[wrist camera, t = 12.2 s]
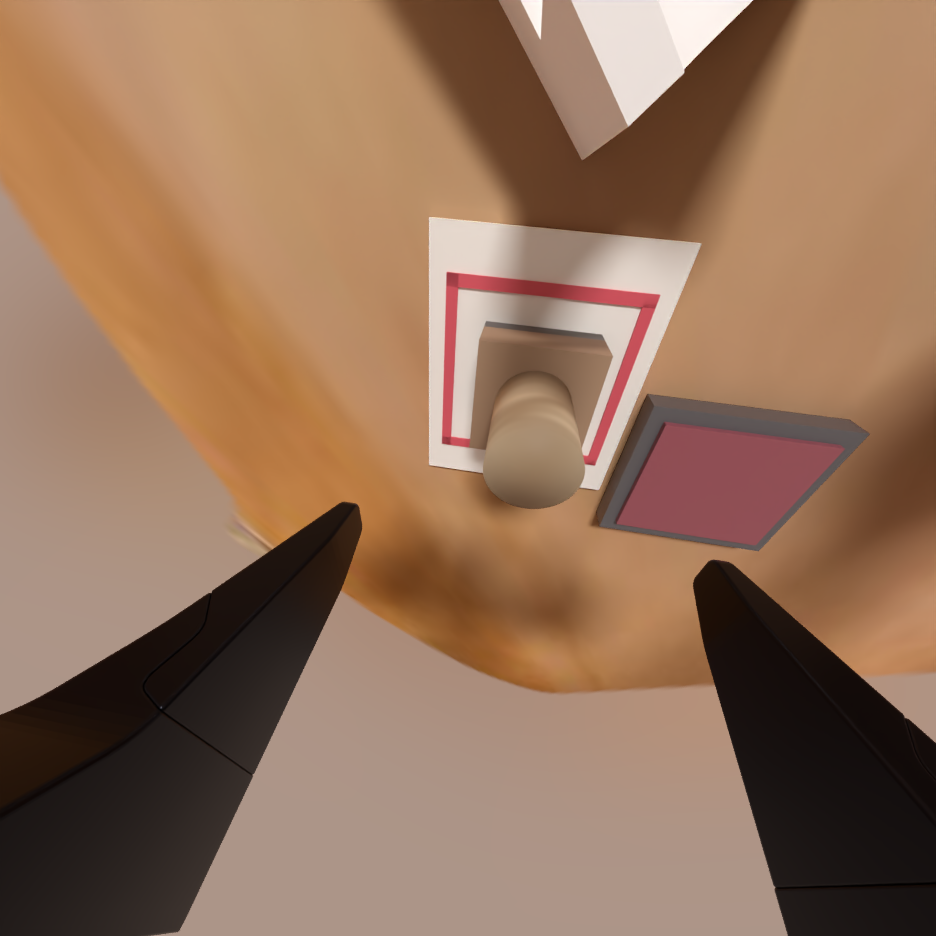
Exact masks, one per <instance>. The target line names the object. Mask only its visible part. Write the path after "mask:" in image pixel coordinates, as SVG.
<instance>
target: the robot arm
mask: <svg viewBox="0 0 936 936" xmlns="http://www.w3.org/2000/svg"><path fill="white" fill-rule="evenodd" d="M361 531H362V521H361V515H360V510H359V506H358V505H357V504H355V503H349V502H341V503H339V504H338V505H336V506H335V507H333V508H332V509H331V510H329V511H328V512H326V513H325V514H323V515H322V516H320V517H319V518H317V519H316V520H315V521H313V522H312V523H310V524H309V525H307V526H306V527H304V528H303V529H301V530H300V531H298V532H297V533H296V534H294V535H293V536H291V537H290V538H288V539H287V540H285V541H284V542H282V543H281V544H280V545H278V546H277V547H275V548H274V549H272V550H271V551H269V552H268V553H266V554H265V555H263V556H262V557H261V558H259V559H258V560H256V561H255V562H253V563H252V564H250V565H249V566H248V567H246V568H245V569H243V570H242V571H240V572H239V573H237V574H236V575H234V576H233V577H231V578H230V579H229V580H227V581H226V582H224V583H223V584H221V585H220V586H218V587H217V588H215V589H214V590H213V591H212V593H208V594H206V595H205V596H203V597H202V598H201V599H199V600H198V601H196V602H195V603H193V604H192V605H190V606H189V607H187V608H186V609H184V610H183V611H181V612H180V613H178V614H177V615H175V616H174V617H172V618H171V619H169V620H168V621H166V622H165V623H163V624H161V625H160V626H158V627H157V628H155V629H153V630H152V631H150V632H148V633H147V634H145V635H143V636H142V637H140V638H139V639H137V640H135V641H134V642H132V643H131V644H129V645H127V646H125V647H124V648H122V649H120V650H119V651H117V652H115V653H114V654H112V655H110V656H108V657H107V658H105V659H103V660H102V661H100V662H98V663H97V664H95V665H93V666H92V667H90V668H88V669H87V670H85V671H83V672H82V673H80V674H78V675H77V676H75V677H73V678H72V679H70V680H68V681H66V682H65V683H63V684H61V685H60V686H58V687H56V688H55V689H53V690H51V691H49V692H47V693H46V694H44V695H42V696H40V697H38V698H36V699H35V700H33V701H30V702H28V703H26V704H24V705H22V706H20V707H18V708H15V709H13V710H11V711H9V712H6V713H4V714H1V715H0V936H151V935H159V934H166V933H174V932H178V931H179V930H180V928H181V926H182V924H183V923H184V921H185V919H186V917H187V914H188V912H189V910H190V908H191V906H192V904H193V902H194V900H195V898H196V896H197V894H198V892H199V889H200V887H201V885H202V883H203V881H204V879H205V877H206V875H207V872H208V870H209V868H210V866H211V864H212V862H213V860H214V858H215V856H216V853H217V851H218V849H219V847H220V845H221V843H222V841H223V838H224V837H225V834H226V832H227V830H228V828H229V826H230V824H231V822H232V820H233V817H234V815H235V813H236V811H237V809H238V807H239V805H240V802H241V801H242V799H243V796H244V794H245V792H246V790H247V788H248V786H249V784H250V782H251V779H252V777H253V775H252V774H254V773H255V771H256V768H257V766H258V764H259V762H260V760H261V758H262V756H263V754H264V752H265V749H266V747H267V745H268V743H269V741H270V739H271V736H272V735H273V733H274V730H275V728H276V726H277V724H278V722H279V720H280V718H281V716H282V714H283V711H284V709H285V707H286V705H287V703H288V701H289V699H290V697H291V694H292V692H293V690H294V688H295V686H296V684H297V682H298V680H299V678H300V675H301V673H302V671H303V669H304V667H305V665H306V663H307V660H308V658H309V656H310V654H311V652H312V650H313V648H314V646H315V644H316V642H317V640H318V637H319V635H320V633H321V631H322V629H323V627H324V625H325V623H326V621H327V618H328V616H329V614H330V612H331V610H332V608H333V606H334V604H335V601H336V599H337V597H338V595H339V593H340V591H341V588H342V586H343V584H344V581H345V578H346V576H347V573H348V570H349V567H350V564H351V561H352V558H353V555H354V552H355V549H356V546H357V544H358V541H359V538H360V535H361ZM693 589H694V594H695V600H696V606H697V611H698V617H699V622H700V628H701V634H702V639H703V644H704V648H705V652H706V656H707V659H708V663H709V666H710V669H711V673H712V676H713V680H714V683H715V687H716V690H717V693H718V697H719V700H720V703H721V707H722V711H723V714H724V717H725V721H726V724H727V728H728V731H729V734H730V738H731V741H732V745H733V748H734V751H735V755H736V758H737V762H738V765H739V769H740V772H741V776H742V779H743V782H744V785H745V789H746V793H747V796H748V799H749V802H750V806H751V810H752V813H753V816H754V820H755V823H756V826H757V830H758V833H759V837H760V841H761V844H762V847H763V851H764V854H765V857H766V861H767V864H768V868H769V871H770V875H771V878H772V881H773V885H774V886H775V887H776V888H775V893H776V896H777V900H778V903H779V907H780V910H781V913H782V917H783V920H784V924H785V927H786V931H787V934H788V936H936V743H935V742H934V741H933V740H932V739H930V737H928V736H927V735H926V734H925V733H924V732H923V731H922V730H920V729H919V728H918V727H917V726H916V725H915V724H914V723H912V722H911V721H910V720H909V719H907V718H905V717H904V715H903V714H902V713H901V712H900V711H899V710H898V709H897V708H895V707H894V706H893V705H892V704H891V703H890V702H889V701H887V700H886V699H885V698H884V697H883V696H882V695H881V694H879V693H878V692H877V691H876V690H875V689H874V688H872V686H870V685H869V684H868V683H867V682H866V681H865V680H864V679H862V678H861V677H860V676H859V675H858V674H857V673H856V672H855V671H853V670H852V669H851V668H850V667H849V666H848V665H847V664H845V663H844V662H843V661H842V660H841V659H840V658H839V657H838V656H836V655H835V654H834V653H833V652H832V651H831V650H830V649H828V648H827V647H826V646H825V645H824V644H823V643H822V642H820V641H819V640H818V639H817V638H816V637H815V636H814V635H813V634H811V633H810V632H809V631H808V630H807V629H806V628H805V627H803V626H802V625H801V624H800V623H799V622H798V621H797V620H796V619H794V618H793V617H792V616H791V615H790V614H789V613H788V612H786V611H785V610H784V609H783V608H782V607H781V606H780V605H779V604H777V603H776V602H775V601H774V600H773V599H772V598H771V597H769V596H768V595H767V594H766V593H765V592H764V591H763V590H761V589H760V588H759V587H758V586H757V585H756V584H755V583H754V582H752V581H751V580H750V579H749V578H748V577H747V576H746V575H744V574H743V573H742V572H741V571H740V570H739V569H738V568H737V567H735V566H734V565H733V564H731V563H729V562H726V561H720V560H710V561H709V562H708V563H707V564H706V565H705V566H704V567H703V569H702V570H701V571H700V572H699V573H698V575H697V576H696V577H695V579H694V582H693Z"/></svg>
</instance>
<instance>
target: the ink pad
mask: <svg viewBox="0 0 936 936" xmlns="http://www.w3.org/2000/svg"><path fill="white" fill-rule="evenodd" d="M868 436H869V433H868V432H867V431H865V430H864V429H862V428H861V427H859V426H858V425H857V424H855V423H854V422H852V421H851V420H847V419H839V418H831V417H823V416H816V415H808V414H800V413H792V412H784V411H776V410H769V409H761V408H753V407H745V406H737V405H729V404H721V403H714V402H706V401H698V400H690V399H682V398H674V397H666V396H659V395H651V394H647V397H646V399H645V401H644V404H643V406H642V408H641V410H640V413H639V415H638V417H637V420H636V422H635V424H634V427H633V429H632V431H631V434H630V436H629V438H628V440H627V443H626V445H625V447H624V450H623V452H622V454H621V457H620V459H619V461H618V463H617V466H616V468H615V470H614V473H613V475H612V477H611V480H610V482H609V484H608V486H607V489H606V491H605V493H604V496H603V498H602V500H601V503H600V505H599V507H598V510H597V517H598V522H599V526H600V527H606V528H613V529H619V530H625V531H632V532H638V533H645V534H651V535H658V536H664V537H671V538H677V539H683V540H690V541H696V542H703V543H709V544H716V545H722V546H729V547H735V548H741V549H748V550H754V551H759V550H760V549H761V548H762V547H763V546H764V545H765V544H766V543H767V542H768V541H769V540H770V539H771V537H772V536H773V535H774V534H775V533H776V532H777V531H778V530H779V529H780V528H781V527H782V526H783V525H784V524H785V523H786V522H787V521H788V520H789V519H790V518H791V516H792V515H793V514H794V513H795V512H796V511H797V510H798V509H799V508H800V507H801V506H802V505H803V504H804V503H805V502H806V501H807V500H808V499H809V498H810V496H811V495H812V494H813V493H814V492H815V491H816V490H817V489H818V488H819V487H820V486H821V485H822V484H823V483H824V482H825V481H826V480H827V479H828V478H829V477H830V475H831V474H832V473H833V472H834V471H835V470H836V469H837V468H838V467H839V466H840V465H841V464H842V463H843V462H844V461H845V460H846V459H847V458H848V457H849V456H850V454H851V453H852V452H853V451H854V450H855V449H856V448H857V447H858V446H859V445H860V444H861V443H862V442H863V441H864V440H865V439H866V438H867V437H868Z"/></svg>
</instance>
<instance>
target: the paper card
mask: <svg viewBox="0 0 936 936" xmlns="http://www.w3.org/2000/svg"><path fill="white" fill-rule="evenodd" d="M700 246H701V243H696V242H686V241H675V240H665V239H654V238H644V237H634V236H623V235H613V234H602V233H592V232H582V231H571V230H561V229H551V228H540V227H530V226H519V225H509V224H499V223H488V222H478V221H468V220H457V219H447V218H436V217H429V465H432V466H439V467H446V468H452V469H459V470H466V471H473V472H479V473H483V463H484V458H485V452H486V450H482V449H475V448H469V445H470V434H471V423H472V412H473V401H474V389H475V378H476V367H477V356H478V345H479V339H480V336H481V333H482V330H483V328H484V325H485V322H486V321H491V322H499V323H508V324H516V325H525V326H534V327H542V328H551V329H559V330H568V331H576V332H585V333H594V334H602V335H603V337H604V339H605V341H606V343H607V345H608V347H609V349H610V351H611V353H612V355H613V358H612V361H611V364H610V367H609V370H608V373H607V376H606V379H605V382H604V385H603V387H602V390H601V393H600V396H599V399H598V402H597V405H596V408H595V411H594V414H593V417H592V420H591V423H590V426H589V429H588V432H587V435H586V437H585V440H584V443H583V446H582V453H583V458H584V463H585V476H584V479H583V482H582V484H581V486H580V487H581V488H588V489H594V490H599V489H600V486H601V484H602V482H603V479H604V477H605V474H606V472H607V470H608V467H609V465H610V462H611V460H612V458H613V455H614V453H615V450H616V448H617V446H618V443H619V441H620V438H621V436H622V434H623V431H624V429H625V426H626V424H627V422H628V419H629V417H630V414H631V412H632V410H633V407H634V405H635V402H636V400H637V398H638V395H639V393H640V390H641V388H642V386H643V383H644V381H645V378H646V376H647V374H648V371H649V369H650V366H651V364H652V362H653V359H654V357H655V354H656V352H657V350H658V347H659V345H660V342H661V340H662V338H663V335H664V333H665V330H666V328H667V326H668V323H669V321H670V318H671V316H672V314H673V311H674V309H675V306H676V304H677V302H678V299H679V297H680V294H681V292H682V290H683V287H684V285H685V282H686V280H687V278H688V275H689V273H690V270H691V268H692V266H693V263H694V261H695V258H696V256H697V254H698V251H699V249H700Z"/></svg>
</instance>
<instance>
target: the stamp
mask: <svg viewBox="0 0 936 936" xmlns="http://www.w3.org/2000/svg"><path fill="white" fill-rule="evenodd" d="M612 358H613V355H612V353H611V351H610V349H609V347H608V345H607V343H606V341H605V339H604V337H603V335H602V334H594V333H585V332H576V331H568V330H559V329H551V328H542V327H534V326H525V325H516V324H508V323H499V322H491V321H486V322H485V325H484V328H483V330H482V333H481V336H480V339H479V345H478V356H477V367H476V378H475V389H474V401H473V412H472V423H471V434H470V445H469V448H475V449H482V450H486V452H485V458H484V463H483V476H484V479H485V482H486V484H487V486H488V487H489V489H490V490H491V491H492V492H493V494H495V495H496V496H497V497H498V498H500V499H501V500H502V501H504V502H506V503H508V504H511V505H513V506H517V507H521V508H527V509H541V508H547V507H551V506H555V505H557V504H560V503H562V502H564V501H566V500H567V499H569V498H570V497H571V496H572V495H573V494H575V492H576V491H577V490H578V489H579V487H580V486H581V484H582V482H583V479H584V476H585V463H584V458H583V453H582V446H583V443H584V440H585V437H586V435H587V432H588V429H589V426H590V423H591V420H592V417H593V414H594V411H595V408H596V405H597V402H598V399H599V396H600V393H601V390H602V387H603V385H604V382H605V379H606V376H607V373H608V370H609V367H610V364H611V361H612Z"/></svg>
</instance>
